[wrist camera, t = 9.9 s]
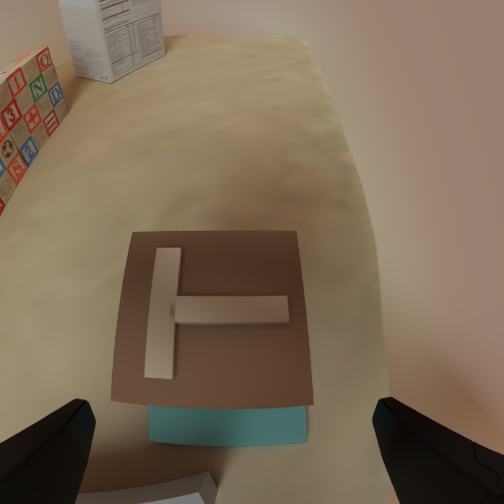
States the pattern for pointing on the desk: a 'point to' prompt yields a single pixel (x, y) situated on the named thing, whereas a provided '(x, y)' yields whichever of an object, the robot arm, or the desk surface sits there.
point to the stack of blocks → (26, 115)
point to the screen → (159, 493)
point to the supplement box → (112, 36)
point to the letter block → (213, 322)
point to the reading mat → (227, 426)
